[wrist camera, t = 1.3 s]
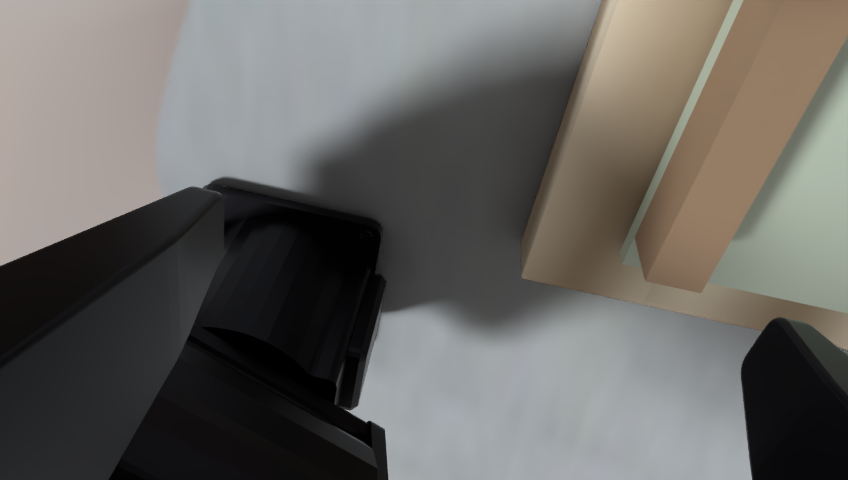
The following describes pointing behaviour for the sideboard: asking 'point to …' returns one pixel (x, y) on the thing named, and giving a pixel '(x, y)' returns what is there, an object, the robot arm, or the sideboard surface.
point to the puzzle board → (634, 165)
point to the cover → (758, 163)
